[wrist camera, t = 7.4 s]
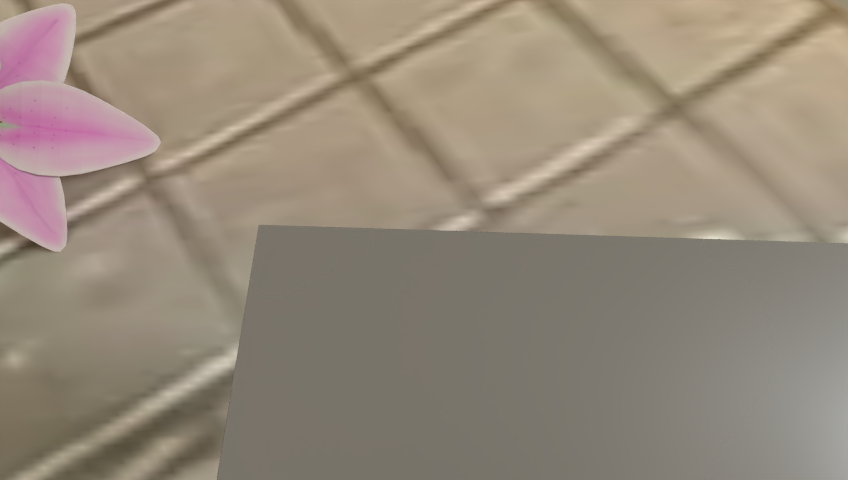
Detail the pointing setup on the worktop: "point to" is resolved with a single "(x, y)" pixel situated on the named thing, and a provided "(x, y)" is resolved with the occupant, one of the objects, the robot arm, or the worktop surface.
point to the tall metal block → (538, 358)
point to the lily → (52, 125)
